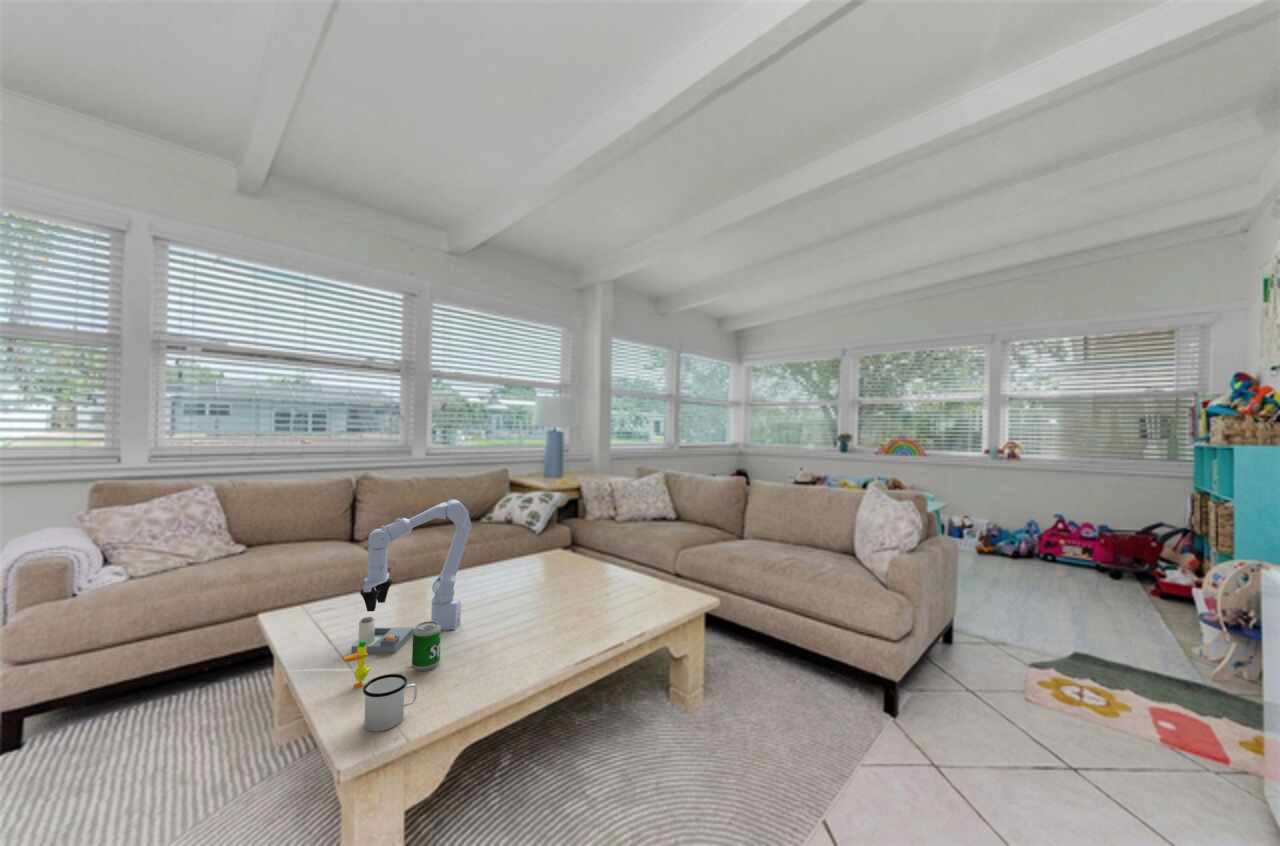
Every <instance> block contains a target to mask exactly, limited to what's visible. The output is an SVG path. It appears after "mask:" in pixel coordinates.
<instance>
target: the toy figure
mask: <svg viewBox="0 0 1280 846" xmlns="http://www.w3.org/2000/svg"><path fill="white" fill-rule="evenodd" d="M365 643H366V641H365V640H362V641H360V644H359V645H358V652H357V653H351V654H349V655H346V656H345V657H344V658H343V661H345V662H347V663H351V662H354V661H357V667H356V668H355V670H354V679H355V680H356V681H357V682H355V683H354V684H353V687H354V689H359V688H361V687H362V688H363V687H364V684H363V683H362V682H363V681H365V679H366V678H367V675H368V674H369V672H370V671H371V669H372V666H369V667H367V666H366V664H365V663H366V657H368V656H369V653H366V645H367V644H365Z"/></svg>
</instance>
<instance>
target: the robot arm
mask: <svg viewBox="0 0 1280 846" xmlns="http://www.w3.org/2000/svg"><path fill="white" fill-rule="evenodd" d="M446 517H448V519H449V520H450V521H451V522H453V524H454V525H455V527H456V529H455V531H454V535H453V538H452V540H451V544H450V545H449V550H448V552H447V555H446V558H445V560H444V565H443V567H442V570H441V571H440V573H439V575H438V577H437V578H436V580H434V582H433V584H432V586H431V587H432V592H433V594H434V596H433V597H432V599H431V614H430V615H431V616H430V621H433V622H437V623H438V625H440V626H441V630H449V631H451V630H455V629H457V627H458V626H459V624H460V623H461V622H462V620H461V615H462V614H461V611H462V610H461V609H462V604H461V600H457V599H455V598H454V597H455V596H454V595H455V589H454V587H455V584H456V576H457V573H458V570H459V566H460V564H461V561H462V557H463V555H464V551H465V548H466V545H467V543H468V541H469V536H470V534H471V531H472V528H473V527H472V522H471V518H470V514H469V510H468V509H467V507H465V506H464V504H462V502H461V501H459V500H458V499H454V498H453V499H449V500H447V501H446V502H445V501H444V502H441V503H438V504H437V505H434V506H432V507H431V508H428V509H427V510H425V511H423V512H421V513H419V514H417V515H415V516H412V517H410V518H406V517H402V518H400V517H398V518H395V521H393V522H391V523H389V524H387V525H384V524H383V525H382V526H381V525H380V528H376V529H374V530H372V531H371V532H370V533H369V535H368V538H367V539H368V544H369V546H368V553H367V577H365V578H364V579H363V582H364V583H365V585H364V586H363V589H361V590H360V591H359V592H360V596H361V597H362V598H363V601H364V604H365V608H366V611H367V612H375V611H376V608H377V604H380V603H381V604H384V603H385V602H386V599H387V596H388V593H389V589H390V588H391V586H392V584H393V579H390V572H388V555H389V554H388V544H389V543H390V542H391V543H392V542H394V541H396V540H398V539H400V538H402V537H404V536H407V535H409V534H411V532H412V530H413V528H415V527H418V526H420V525H422V524H424V523H425V524H426V523H428V522H430V521H432V520H435V519H442V520H446V519H447V518H446Z"/></svg>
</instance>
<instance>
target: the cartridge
mask: <svg viewBox="0 0 1280 846" xmlns="http://www.w3.org/2000/svg"><path fill="white" fill-rule="evenodd" d="M375 628H376V619H375V618H374V617H371V616H367V617H363V618H362V619H360V621H359V622H358V640H357V641H358V643H359V644H360V641H362V640H365V641H366V643H365V644H370V643H372V642H374V639H375Z"/></svg>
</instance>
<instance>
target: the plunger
mask: <svg viewBox="0 0 1280 846" xmlns="http://www.w3.org/2000/svg"><path fill="white" fill-rule="evenodd" d="M394 639H395V635H388V636H386V637H385V641H393V640H394Z"/></svg>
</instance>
